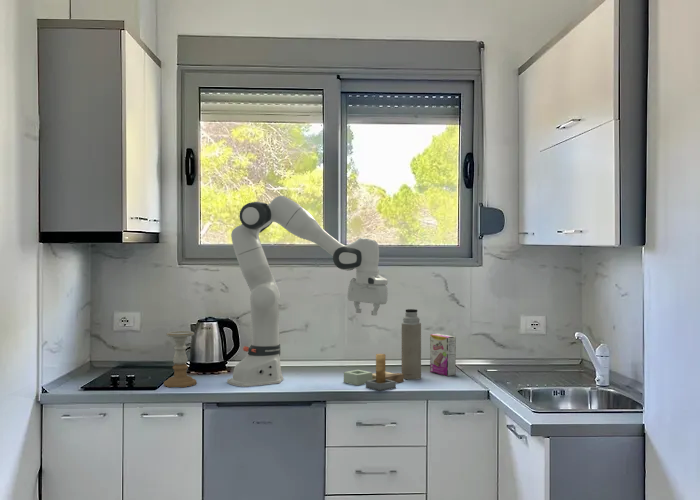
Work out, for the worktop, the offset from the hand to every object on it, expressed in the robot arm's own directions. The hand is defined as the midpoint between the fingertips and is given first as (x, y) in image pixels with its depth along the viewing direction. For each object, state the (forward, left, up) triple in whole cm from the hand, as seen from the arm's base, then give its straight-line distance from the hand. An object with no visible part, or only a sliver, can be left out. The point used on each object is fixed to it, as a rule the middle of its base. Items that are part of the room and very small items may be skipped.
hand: (366, 314), depth 244 cm
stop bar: (+8, -7, -27) cm, 29 cm away
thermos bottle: (+21, -5, -27) cm, 35 cm away
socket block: (-2, +2, -27) cm, 27 cm away
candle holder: (-57, +44, -27) cm, 77 cm away
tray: (-2, -11, -27) cm, 29 cm away
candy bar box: (+37, -8, -27) cm, 46 cm away
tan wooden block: (+8, -1, -27) cm, 29 cm away
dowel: (-2, -10, -26) cm, 28 cm away
